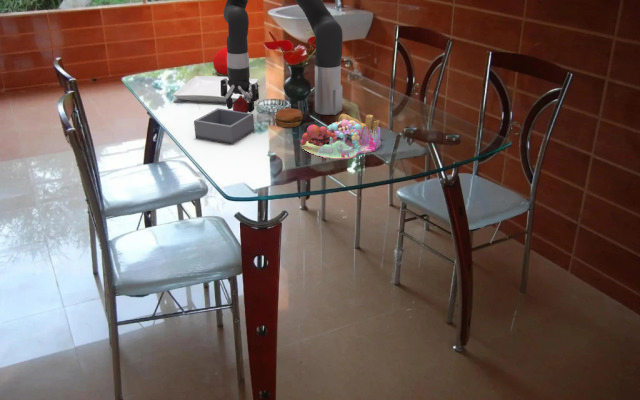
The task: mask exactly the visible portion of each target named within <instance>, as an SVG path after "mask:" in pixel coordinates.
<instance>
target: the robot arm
mask: <svg viewBox="0 0 640 400" xmlns="http://www.w3.org/2000/svg"><path fill="white" fill-rule="evenodd" d="M294 1H295V2H296V4H297V5H298V6H299V8H300V9H301V10H302V11H303V13H304V15H305V17H306V20H307V21H308V23H309V26H310V27H311V30H312V32H313V35H314V37H315V54H314V55H315V56H314V111H315V113H316V114H319V115H322V116H323V115H326V116H329V115H333V116H334V115H335V116H336V115H338V114H339V113H340V112H341V111H343V84H341V74H342V73H341V71H342V70H341V68H342V57H343V40H344V37H343V30H342V26H341V25H340V23H339V21H337V20H336V19H335V18H334V17H333V15H332V14H331V13H330V11H329V10H328V8H327V7H326V5H325V4H324V2H323V0H294ZM248 2H249V0H227V1H226V3H225V5H224V8H223V18H224V21H225V22H226V23H227V27H228V29H227V30H228V35H227V36H226V47H227V70H228V75H227V77H228V79H229V80H227V79H226V78H225V79H223V80H221V96H224V97H225V98H226V103H225V104H226V105H225V106H226V108H227V110H231V109H233V103H232V98H231V96H232V95H233V94H240V95H244V99H245V98H246V99H245V100H246V101H247V102H248V113H251V114H252V112H254V111H255V102H257V101H258V100H259V99H260V94H259V92H260V91H259V84H258V82H257V83H255V84H251V83H250V82H249V79H251V78H250V76H251V75H250V72H251V71H250V57H249V56H250V55H249V46H248V45H249V44H248V35H249V24H250V21H249V14H248V12H247V9H246V8H247V4H248ZM227 85H229V86H230V89H229V91H228V92H227ZM249 88H251V90H250V89H249ZM246 92H247V93H246Z"/></svg>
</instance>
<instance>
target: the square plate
mask: <svg viewBox="0 0 640 400" xmlns="http://www.w3.org/2000/svg"><path fill="white" fill-rule="evenodd" d="M225 78H226V79H227V80H229V79H228V76H215V75H213V76H212V75H209V76H208V75H207V76H206V75H202V76H201V75H195V76H193V78H191V79H190V80H188V81H187V82H186V83H184V84H183V85H182V86H181V87H180V88H179V89H177V90H176V91H175V92H174V93H173V94H172V96H174V97H176V98H177V99H179V100H181V101H189V102H199V103H200V102H203V103H208V102H209V103H222V104H223V103H224V104H226V98H225V97H224V96H221V80H223V79H225ZM259 81H260V80H259V79H258V78H249V82H250V83H251V84H255V83H257V84H258V82H259ZM229 89H230V86H229V85H227V92H228V91H229ZM249 89H250V91H252V90H251V88H249ZM246 93H247V92H246ZM247 94H248V93H247ZM239 96H240V94H233V95H232V96H231V98H232V104H233V103H234V102H235V100H237V99H238V98H239ZM241 96H243V97H242V98H244V99H245V97H244V95H241Z"/></svg>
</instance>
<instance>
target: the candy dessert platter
mask: <svg viewBox="0 0 640 400" xmlns="http://www.w3.org/2000/svg"><path fill="white" fill-rule="evenodd" d="M373 119H374V115H373V114H367V115H366V116H365V123H364V122H361V121H359V120H358V119H357V118H354V117H352V116H350V115H348V114H346V113H341V114H339V116H338V119H337V121H335V122H332V123H331V124H329V125H328V126H327V127H326V126H318V125H316V124H310V125H309V126H308V127H307V129H306V132H304V133H303V134H302V136H301V137H302V139H301V140H300V147H301V150H302V149H304V150H305V151H307V152H309V153H311V154H314V155H313V156H315V155H316V156H315V157H317V156H320V157H319V158H322V157H323V158H322V159H329V158H330V159H329V160H350V159H354V158H356V157H357V156H358V155H359V154H367V153H371V152H375V151H376V149H379V147H381V145H382V144H381V127H379V125H380V119H377V120H374V121H373ZM304 150H303V151H304ZM307 152H306V153H307ZM311 154H310V155H311ZM353 157H354V158H353Z"/></svg>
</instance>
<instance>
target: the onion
mask: <svg viewBox="0 0 640 400" xmlns="http://www.w3.org/2000/svg"><path fill="white" fill-rule="evenodd" d="M242 97H243V96H241V95H240V96H239V98H238V99H237V100H235V102H234V103H232V104H233V107H232V111H238V112H244V113H249V112H248V100H247V99H245V97H244V98H242Z"/></svg>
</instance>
